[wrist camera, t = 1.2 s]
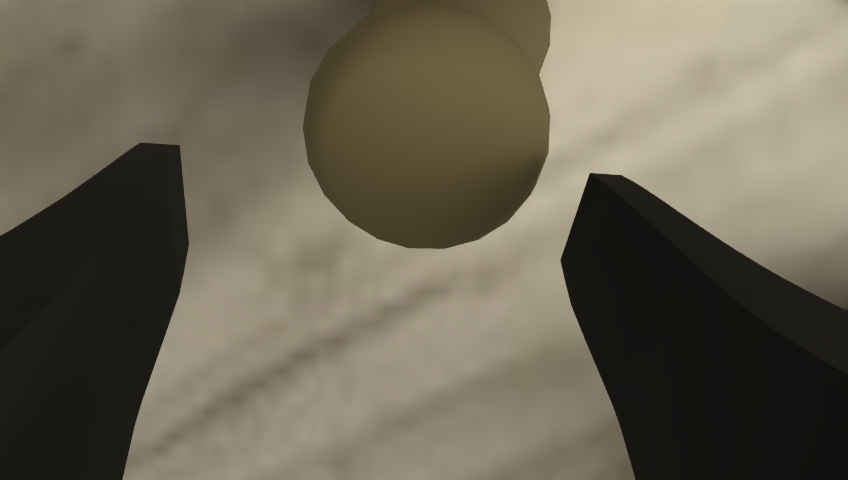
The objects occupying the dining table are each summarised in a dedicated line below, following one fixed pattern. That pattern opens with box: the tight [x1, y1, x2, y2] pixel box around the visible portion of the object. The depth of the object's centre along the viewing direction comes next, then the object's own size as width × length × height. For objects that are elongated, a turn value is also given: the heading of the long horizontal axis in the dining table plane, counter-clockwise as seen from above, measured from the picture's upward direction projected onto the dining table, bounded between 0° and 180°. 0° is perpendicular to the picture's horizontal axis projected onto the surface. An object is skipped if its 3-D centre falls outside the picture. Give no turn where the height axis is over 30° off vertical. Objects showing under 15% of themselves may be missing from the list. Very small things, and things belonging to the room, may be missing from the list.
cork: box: [303, 0, 551, 249], centre depth 17 cm, size 6×6×11 cm
